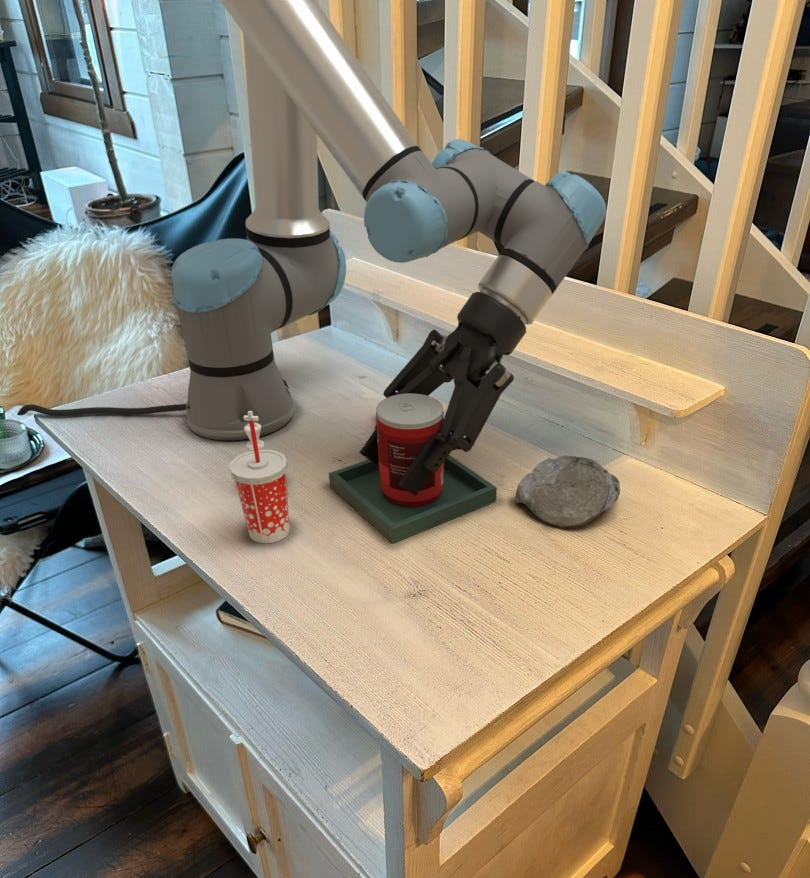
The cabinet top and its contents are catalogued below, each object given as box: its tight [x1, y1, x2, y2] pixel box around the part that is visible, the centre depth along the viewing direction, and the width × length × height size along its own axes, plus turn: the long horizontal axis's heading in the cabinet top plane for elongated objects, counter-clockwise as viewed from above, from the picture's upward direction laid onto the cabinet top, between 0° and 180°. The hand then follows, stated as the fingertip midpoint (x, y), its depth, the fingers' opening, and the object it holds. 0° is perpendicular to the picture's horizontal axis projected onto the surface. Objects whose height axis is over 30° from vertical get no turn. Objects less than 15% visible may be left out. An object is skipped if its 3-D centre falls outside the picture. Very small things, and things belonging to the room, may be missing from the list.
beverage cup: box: [228, 420, 291, 544], centre depth 82 cm, size 6×6×14 cm
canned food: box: [375, 393, 445, 507], centre depth 88 cm, size 8×8×11 cm
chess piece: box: [244, 411, 265, 451], centre depth 92 cm, size 5×5×10 cm
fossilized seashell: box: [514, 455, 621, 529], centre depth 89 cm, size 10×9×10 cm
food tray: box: [328, 454, 498, 544], centre depth 91 cm, size 15×15×2 cm
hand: (386, 473), depth 88 cm, fingers closed on canned food, 8 cm apart
